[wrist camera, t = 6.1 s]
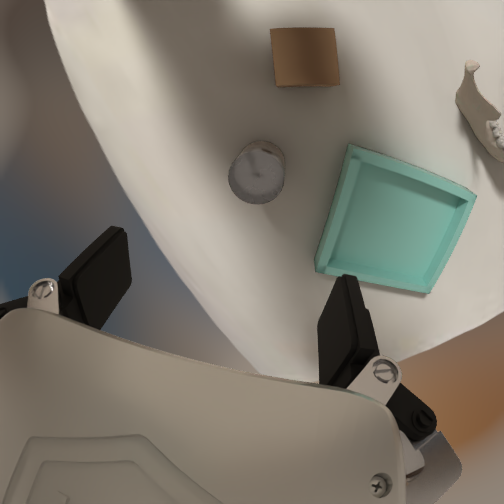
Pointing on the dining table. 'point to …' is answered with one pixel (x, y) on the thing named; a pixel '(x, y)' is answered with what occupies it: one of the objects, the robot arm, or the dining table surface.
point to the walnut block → (305, 57)
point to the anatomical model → (480, 113)
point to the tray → (391, 222)
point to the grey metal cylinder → (257, 173)
